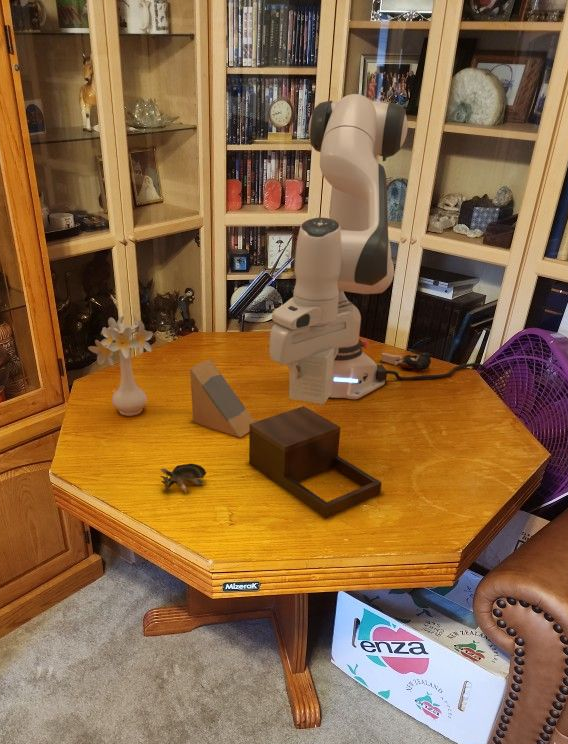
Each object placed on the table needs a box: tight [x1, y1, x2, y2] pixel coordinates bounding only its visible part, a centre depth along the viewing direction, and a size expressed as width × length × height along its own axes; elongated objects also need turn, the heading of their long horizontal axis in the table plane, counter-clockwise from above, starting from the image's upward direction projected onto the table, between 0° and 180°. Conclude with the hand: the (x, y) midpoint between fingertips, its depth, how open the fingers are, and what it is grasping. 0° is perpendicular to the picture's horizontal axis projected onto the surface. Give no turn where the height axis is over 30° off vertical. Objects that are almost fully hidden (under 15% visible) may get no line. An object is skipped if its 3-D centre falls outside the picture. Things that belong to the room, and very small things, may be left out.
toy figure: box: [381, 347, 432, 372], centre depth 203 cm, size 7×6×15 cm
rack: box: [248, 405, 383, 519], centre depth 148 cm, size 16×27×10 cm, turn 36°
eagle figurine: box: [159, 463, 207, 494], centre depth 145 cm, size 8×7×9 cm
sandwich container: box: [189, 358, 256, 438], centre depth 168 cm, size 9×15×15 cm, turn 56°
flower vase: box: [87, 313, 154, 417], centre depth 171 cm, size 13×18×25 cm
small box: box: [288, 348, 334, 405], centre depth 139 cm, size 8×6×10 cm
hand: (311, 373), depth 139 cm, fingers closed on small box, 7 cm apart
